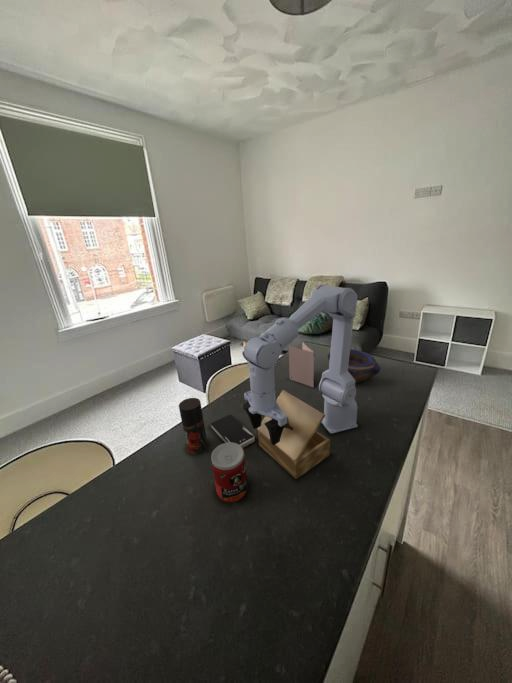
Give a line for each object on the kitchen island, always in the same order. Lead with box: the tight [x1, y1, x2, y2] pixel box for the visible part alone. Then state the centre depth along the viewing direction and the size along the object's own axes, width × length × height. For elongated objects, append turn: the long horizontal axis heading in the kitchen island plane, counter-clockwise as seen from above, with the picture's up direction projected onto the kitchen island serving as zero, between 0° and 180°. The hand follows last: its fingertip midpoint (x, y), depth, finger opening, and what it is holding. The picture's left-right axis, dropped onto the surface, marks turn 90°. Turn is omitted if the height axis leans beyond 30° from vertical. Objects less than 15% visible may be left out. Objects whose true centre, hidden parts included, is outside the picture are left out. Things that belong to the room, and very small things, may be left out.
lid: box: [256, 389, 325, 462], centre depth 73 cm, size 13×16×5 cm
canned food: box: [210, 442, 248, 504], centre depth 66 cm, size 8×8×11 cm
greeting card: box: [288, 341, 316, 388], centre depth 111 cm, size 11×7×15 cm, turn 13°
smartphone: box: [210, 414, 256, 449], centre depth 87 cm, size 8×1×15 cm
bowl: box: [327, 348, 381, 384], centre depth 112 cm, size 18×18×10 cm
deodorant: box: [178, 397, 208, 455], centre depth 80 cm, size 6×6×15 cm
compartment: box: [257, 429, 331, 480], centre depth 78 cm, size 13×16×5 cm
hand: (266, 434), depth 70 cm, fingers open, 7 cm apart
